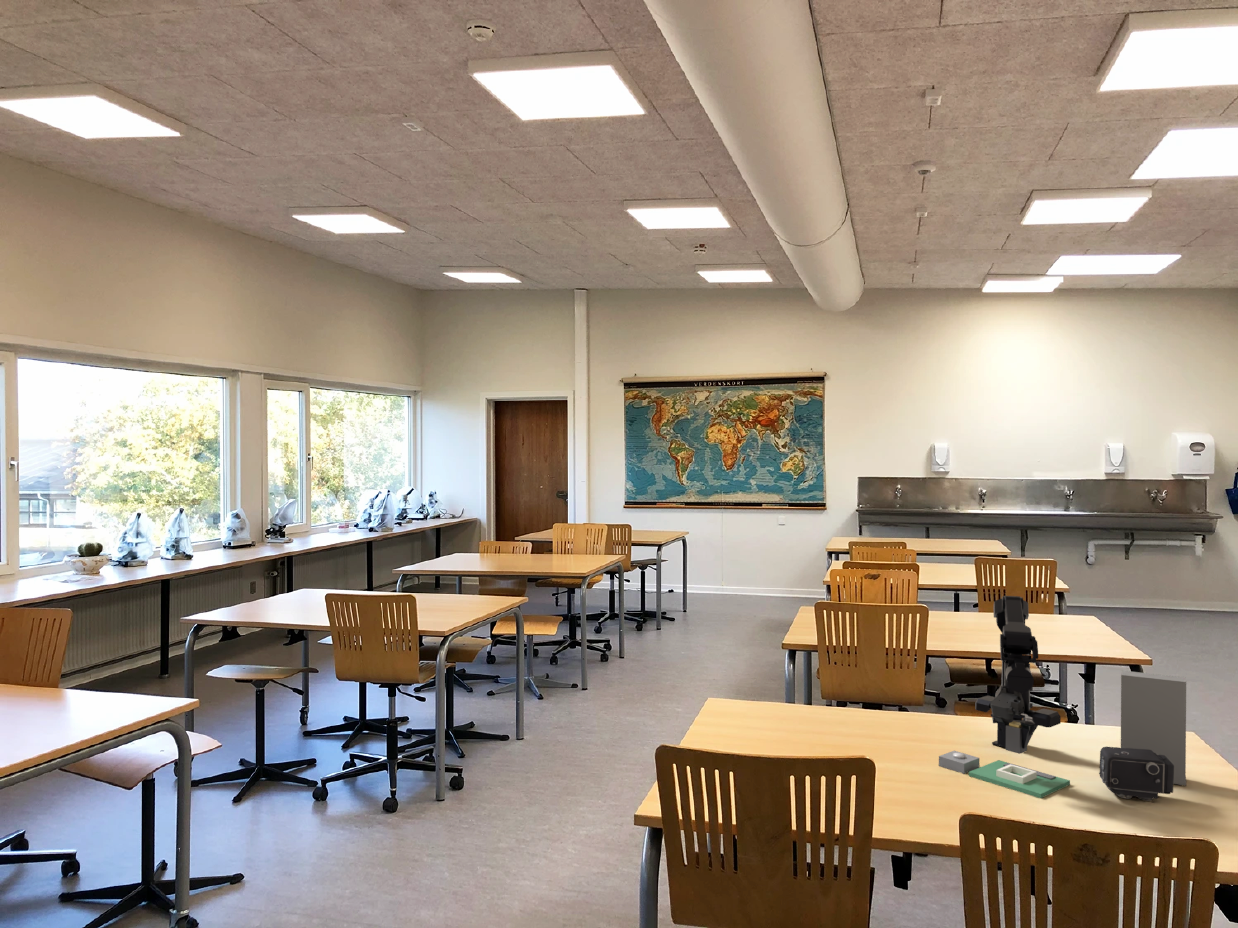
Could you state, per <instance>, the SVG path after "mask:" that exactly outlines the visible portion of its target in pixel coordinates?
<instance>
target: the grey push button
mask: <svg viewBox="0 0 1238 928" xmlns="http://www.w3.org/2000/svg"><path fill="white" fill-rule="evenodd" d="M938 767H940V768H944V769H948V770H951V771H954V772H957V773H961V774H963V775H964V774H966V773H969V772H970V771H972V770H975V769H977V768H980V757H978V756H974V755H971V754H967V753H964V752H961V751H957V750H952V751H949V752H946V753H944V754H941V755H939V756H938Z"/></svg>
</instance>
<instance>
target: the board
mask: <svg viewBox="0 0 1238 928" xmlns="http://www.w3.org/2000/svg"><path fill="white" fill-rule="evenodd" d="M968 776H969V777H971V778H974V779H977V780H980V781H983V782H986V783H990V784H993V785H997V786H1000V787H1003V788H1006V789H1009V790H1013V791H1016V792H1019V793H1023V794H1026V795H1029V796H1032V797H1036V798H1038V799H1043V798H1044V797H1047V796H1048V795H1051V794H1053V793H1056V792H1058V791H1059V790H1061V789H1063V788H1066V787H1068V786H1070V785H1071V780H1069V779H1065V778H1063V777H1059V776H1056V775H1053V774H1049V773H1045V772H1042V771H1038V770H1034V769H1031V768H1028V767H1024V766H1022V765H1021V766H1020V765H1017V764H1013V763H1011V762H1007V761H1004V760H1000V759H998V760H996V761H992V762H990V763H988V764H987V763H986V764H985V765H982V766H979V768H977V769H975V770H972V771H970V772H968Z"/></svg>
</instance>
